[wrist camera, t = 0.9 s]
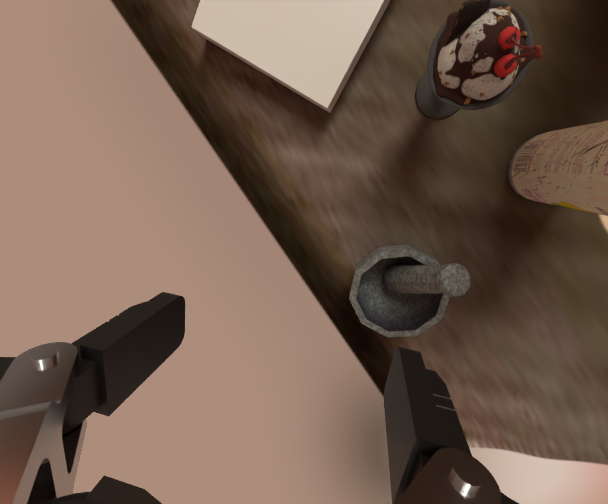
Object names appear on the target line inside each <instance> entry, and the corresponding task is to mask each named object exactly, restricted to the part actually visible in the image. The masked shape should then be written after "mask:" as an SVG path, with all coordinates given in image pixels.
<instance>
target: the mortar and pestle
mask: <svg viewBox="0 0 608 504" xmlns="http://www.w3.org/2000/svg"><path fill="white" fill-rule="evenodd" d="M470 279H471V277H470V275H469V273H468V271H467V269H466V268H465V267H463V266H462V265H460V264H458V263H450V264H444V265H443V266H440V264H439V263H438V261H437V260H435V259H434V258H432V257H430V256H428V255H426V254H424V253H422V252H420V251H419V250H417V249H415V248H413V247H411V246H409V245H407V244H401V245H392V246H382V247H377V248H376V249H375V250H374V251H372V252H371V253H370V254H369V255H368V256H367V257H365V258H364V259H363V260H362V261H361V262H359V263H358V264H357V266H356V267H355V271H354V276H353V280H352V285H351V290H350V295H349V300H350V302H351V304H352V306H353V308H354V310H355V312H356V314H357V316H358V318H359V320H360V322H361V323H362V324H363V325H365V326H367V327H369V328H371V329H373V330H374V331H376V332H378V333H380V334H382V335H384V336H385V337H409V336H419V335H420V334H422V333H423V332H424V331H426V330H427V329H429V328H430V327H432V326H433V325H435V324H436V323H438V322H439V321H441V320H442V319H443V316H444V313H445V310H446V307H447V304H448V301H449V298H450V297H457V296H462V295H464V294H465V293H466V291H467V290H468V289H469V288H470Z"/></svg>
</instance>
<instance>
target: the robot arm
mask: <svg viewBox="0 0 608 504" xmlns="http://www.w3.org/2000/svg"><path fill="white" fill-rule="evenodd" d="M184 333H185V299H184V297H182V296H179V295H174V294H170V293H166V292H162V293H160V294H159V295H157V296H155V297H154V298H152V299H151V300H149V301H148V302H143V303H141V304H137V305H135V306H132V307H130V308H128V309H127V310H125V311H123V312H122V313H120V314H119V316H115V317H114V318H112V319H110V321H109V322H105V323H104V324H102V325H101V326H99V327H97V328H96V329H94V330H93V331H91V332H89V333H88V334H86V335H85V336H83V337H81V338H80V339H78V340H77V341H75V342H73V343H72V344H70V343H65V342H56V343H48V344H44V345H40V346H37V347H34V348H32V349H29V350H27V351H26V352H24V353H22V354H21V355H19V356H18V357H0V504H161V503H160V502H159V501H158V500H157V499H155V498H154V497H153V496H152V495H151V494H149V493H148V492H147V491H146V490H145V489H142V488H139V487H136V486H133V485H130V484H127V483H124V482H121V481H118V480H115V479H113V478H110V477H107V476H103V478H102V479H101V480H100V481H99V482H98V484H97V485H96V486H95V487H94V489H93V490H92V491H91V492H83V493H75V494H73V487H74V481H75V477H76V472H77V468H78V463H79V459H80V454H81V449H82V445H83V440H84V436H85V431H86V427H87V421H86V418H87V417H88V416H89V415H90V414H91V413H92V412H96V413H100V414H103V415H106V416H110V415H111V413H113V412H114V411H115V410H116V409H117V408H118V407H119V406H120V405H121V404H122V403H123V402H124V400H126V399H127V398H128V397H129V396H130V395H131V394H132V393H133V392H134V391H135V390H136V389H137V388H138V387H139V386H140V385H141V384H142V383H143V382H144V381H145V380H146V379H147V378H148V377H149V376H150V375H151V374H152V373H153V372H154V371H155V370H156V369H157V368H158V367H159V366H160V365H161V364H162V363H163V362H164V361H165V360H166V359H167V358H168V357H169V356H170V355H171V354H172V353H173V352H174V351H175V350H176V349H177V348H178V347H179V346H180V344H181V342H182V340H183V337H184ZM384 407H385V420H386V432H387V444H388V456H389V469H390V481H391V493H392V504H519V503H517V502H515V501H513V500H511V499H510V498H508V497H507V496H506V495H504V494H503V493H501V492H500V489H499V486H498V484H497V482H496V481H495V479H494V477H493V476H492V474H491V473H490V472H489V471H488V470H487V469H486V467H485V466H483V464H481V463H480V462H479V461H478V460H477V459H475V458H474V457H472V455H471V452H470V449H469V447H468V444H467V441H466V438H465V436H464V433H463V430H462V427H461V425H460V422H459V419H458V417H457V414H456V412H455V411H454V409H455V408H454V406H453V403H452V400H450V395H449V392H448V389H447V387H446V384H445V383H444V382H443V380H442V379H441V378H440V377H439V376H438V374H437V373H436V372H435V371H432V370H428V369H425V366H424V362H423V359H422V356H421V353H420V352H418V351H414V350H409V349H405V348H401V347H397V348H396V350H395V353H394V356H393V360H392V363H391V367H390V370H389V374H388V377H387V381H386V385H385V391H384Z"/></svg>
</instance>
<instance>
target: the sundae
mask: <svg viewBox="0 0 608 504" xmlns="http://www.w3.org/2000/svg"><path fill="white" fill-rule="evenodd" d="M534 50H535V52H534ZM534 56H535V58H536V59H537V60H538V59H540V58H542V56H543V52H542V46H541V45H536V46H535V47H534V40H533V35H532V31H531V29H530V26H529V24H528V22H527V21H526V19H525V17H524V16H523V14H522V13H521V12H520V10H518V9H517V8H516V7H515V6H514V5H512V4H510V3H508V2H507V1H505V0H469V1H466V2H464V3H463V4H462V5H461V7H460V10H459V11H457V12H453V13H451V14H450V15H449V16H448V19H447V21H446V22H445V23H444V24H443V25H442V26H441V28H440V30H439V31H438V33H437V35H436V37H435V39H434V41H433V43H432V46H431V50H430V54H429V59H428V71H427V72H426V73H425V74H424V75H423V77H422V78H421V80H420V81H419V83H418V86H417V89H416V102H417V105H418V107H419V109H420V110H421V112H422V113H423V114H425V115H426V116H428V117H430V118H438V119H440V118H445V117H448V116H450V115H452V114H453V113H455V112H456V111H457V110H459V109H465V110H477V109H483V108H487V107H490V106H493V105H495V104H497V103H499V102H500V101H502V100H503V99H504V98H506V97H507V96H508V95H509V94H510V93H511V92H512V91H514V89H515V88H516V87H517V86H518V84H519V83H520V82H521V80H522V79H523V77H524V76H525V74H526V73H527V71H528V69H529V66H530V63H531V61H532V60H533V58H534Z"/></svg>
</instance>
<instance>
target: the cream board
mask: <svg viewBox="0 0 608 504" xmlns="http://www.w3.org/2000/svg"><path fill="white" fill-rule="evenodd" d="M389 2H390V0H200V3H199V6H198V9H197V12H196V15H195V18H194V21H193V24H192V28H193V29H194V30H196V31H197V32H198V33H199V34H201V35H202V36H203V37H204V38H205V39H207V40H208V41H210V42H212V43H214V44H215V45H217V46H219V47H220V48H222V49H224V50H225V51H227V52H229V53H230V54H232V55H234V56H235V57H237V58H239V59H240V60H242V61H244V62H245V63H247V64H249V65H250V66H252V67H254V68H255V69H257V70H259V71H260V72H262V73H264V74H265V75H267V76H269V77H270V78H272V79H274V80H275V81H277V82H279V83H280V84H282V85H284V86H285V87H287V88H289V89H290V90H292V91H294V92H295V93H297V94H299V95H300V96H302V97H304V98H305V99H307V100H309V101H310V102H312V103H314V104H315V105H317V106H319V107H320V108H322V109H324V110H325V111H327V112H329V113H331V111H332V109H333V107H334V105H335V104H336V102H337V100H338V98H339V96H340V94H341V92H342V90H343V89H344V87H345V85H346V83H347V81H348V79H349V77H350V75H351V74H352V72H353V70H354V68H355V66H356V64H357V62H358V60H359V59H360V57H361V55H362V53H363V51H364V49H365V47H366V45H367V44H368V42H369V40H370V38H371V36H372V34H373V32H374V30H375V29H376V27H377V25H378V23H379V21H380V19H381V17H382V15H383V14H384V12H385V10H386V8H387V6H388V4H389Z"/></svg>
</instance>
